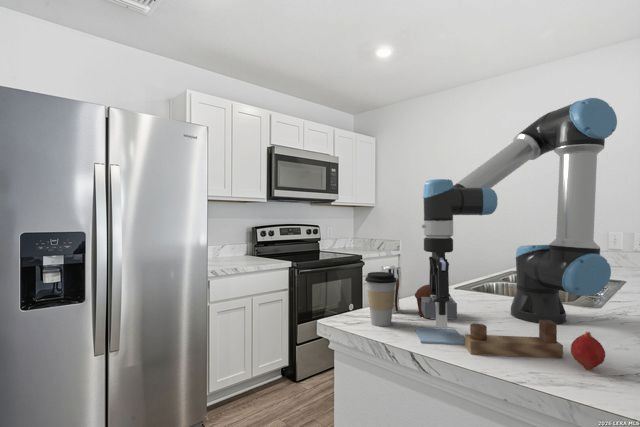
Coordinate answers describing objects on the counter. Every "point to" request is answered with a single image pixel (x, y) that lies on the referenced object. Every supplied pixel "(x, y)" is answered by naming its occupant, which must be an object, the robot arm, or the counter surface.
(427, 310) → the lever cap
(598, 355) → the onion
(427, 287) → the muffin
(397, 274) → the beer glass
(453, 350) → the counter surface
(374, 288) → the coffee cup
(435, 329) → the mat
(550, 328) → the wooden block with pegs
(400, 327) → the counter surface
